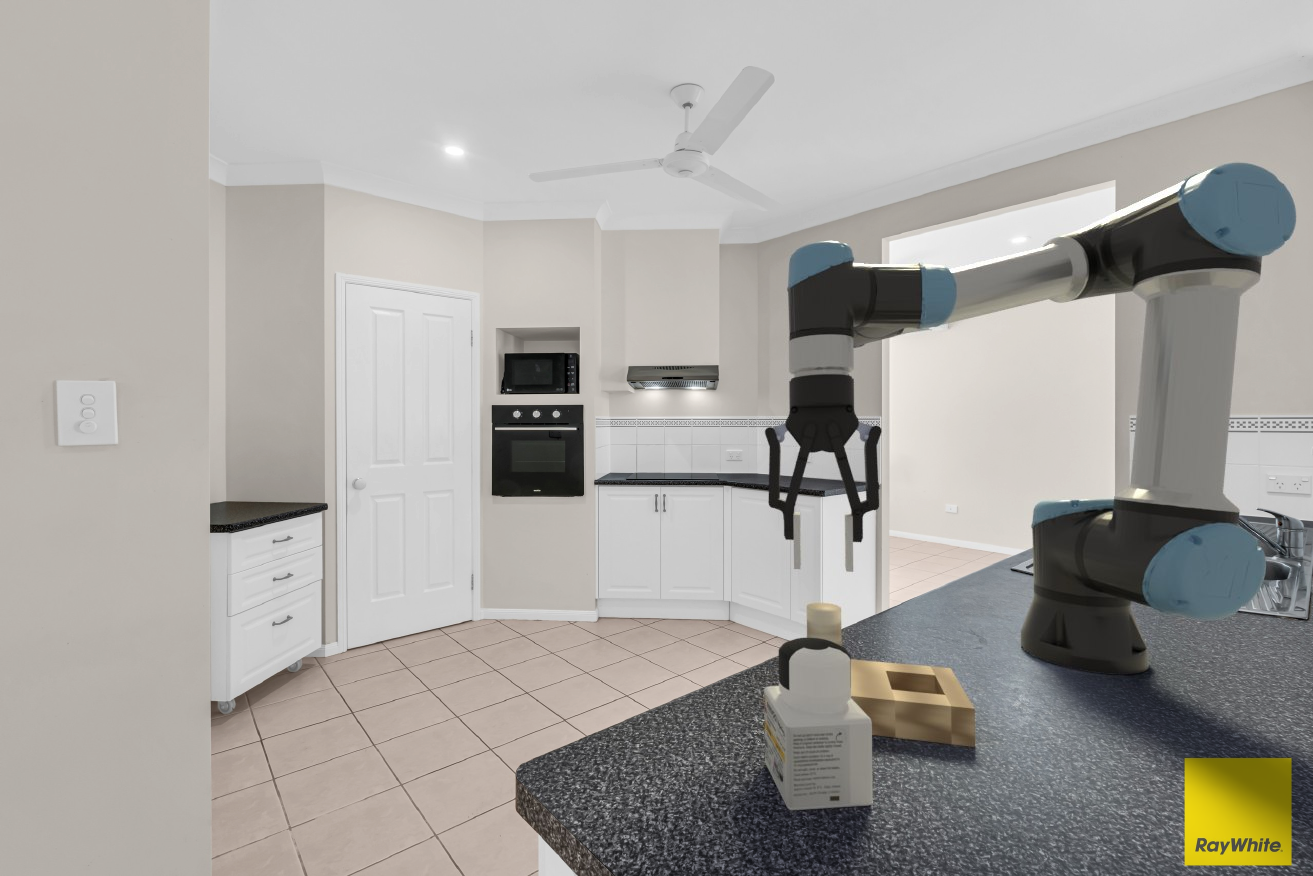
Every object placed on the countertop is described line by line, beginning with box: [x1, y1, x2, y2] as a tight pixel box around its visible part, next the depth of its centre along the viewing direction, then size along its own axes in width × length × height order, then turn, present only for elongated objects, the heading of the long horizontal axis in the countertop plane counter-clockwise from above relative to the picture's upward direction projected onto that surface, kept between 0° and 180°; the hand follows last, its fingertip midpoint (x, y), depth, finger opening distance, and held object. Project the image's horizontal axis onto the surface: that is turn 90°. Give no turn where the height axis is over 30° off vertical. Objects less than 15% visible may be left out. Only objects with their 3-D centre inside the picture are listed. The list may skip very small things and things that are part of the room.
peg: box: [806, 602, 843, 647], centre depth 69 cm, size 4×4×12 cm
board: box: [851, 658, 976, 748], centre depth 68 cm, size 20×11×4 cm, turn 75°
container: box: [763, 637, 873, 811], centre depth 54 cm, size 8×8×13 cm
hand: (823, 567), depth 69 cm, fingers open, 5 cm apart
